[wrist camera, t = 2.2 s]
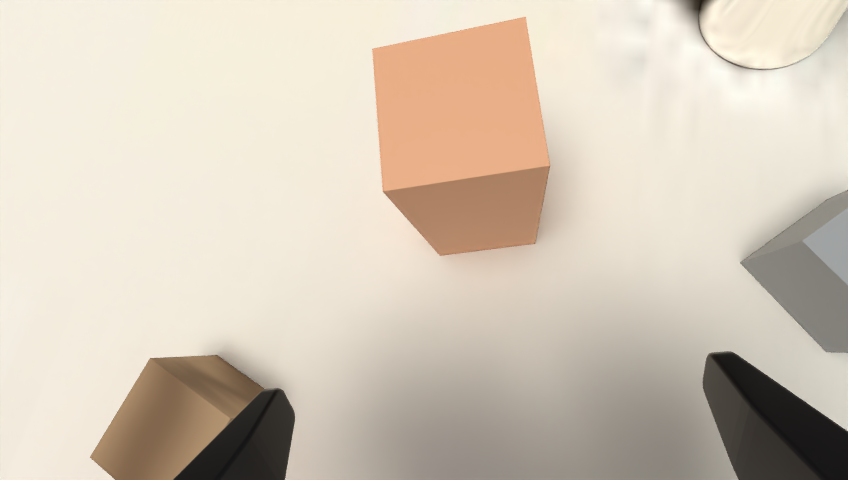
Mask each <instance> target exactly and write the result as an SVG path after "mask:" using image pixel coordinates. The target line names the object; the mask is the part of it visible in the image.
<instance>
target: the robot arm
mask: <svg viewBox="0 0 848 480" xmlns="http://www.w3.org/2000/svg"><path fill="white" fill-rule="evenodd" d="M703 389H704V393H705V395H706V398H707V401H708V403H709V406H710V409H711V411H712V414H713V417H714V419H715V422H716V424H717V427H718V430H719V432H720V435H721V438H722V440H723V443H724V446H725V448H726V451H727V454H728V456H729V459H730V461H731V464H732V466H733V469H734V471H735V473H736V475H737V477H738V479H739V480H848V431H846V430H845V429H844V428H842V427H841V426H839V425H838V424H836V423H835V422H833V421H832V420H831V419H829V418H828V417H826V416H825V415H823V414H822V413H820V412H819V411H818V410H816V409H815V408H813V407H812V406H810V405H809V404H807V403H806V402H805V401H803V400H802V399H800V398H799V397H797V396H796V395H794V394H793V393H792V392H790V391H789V390H787V389H786V388H784V387H783V386H782V385H780V384H779V383H777V382H776V381H774V380H773V379H771V378H770V377H769V376H767V375H766V374H764V373H763V372H761V371H760V370H758V369H757V368H756V367H754V366H753V365H751V364H750V363H748V362H747V361H745V360H744V359H743V358H741V357H740V356H738V355H737V354H735V353H733V352H729V351H726V352H714V353H710V354H708V356H707V358H706V364H705V370H704V376H703ZM294 422H295V414H294V410H293V408H292V406H291V404H290V402H289V401H288V399H287V397H286V395H285V393H284V391H283V390H281V389H280V388H274V389H265V390H263V391H261V392H260V393H259V394H258V395H257V396H256V397H255V398H254V399H253V400H252V401H251V402H250V403H249V404H248V405H247V406H246V407H245V408H244V409H243V410H242V411H241V412H240V413H239V414H238V415H237V416H236V417H235V418H234V419H233V420H232V421H231V422H230V423H229V424H228V425H227V426H226V427H225V428H224V429H223V430H222V431H221V432H220V433H219V434H218V435H217V436H216V437H215V438H214V439H213V440H212V441H211V442H210V443H209V444H208V445H207V446H206V447H205V448H204V449H203V450H202V451H201V452H200V453H199V454H198V455H197V456H196V457H195V458H194V459H193V460H192V461H191V462H190V463H189V464H188V465H187V466H186V467H185V468H184V469H183V470H182V471H181V472H180V473H179V474H178V475H177V476H176V477H175V478H174V479H173V480H285V476H286V470H287V464H288V458H289V452H290V446H291V440H292V434H293V428H294Z"/></svg>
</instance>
